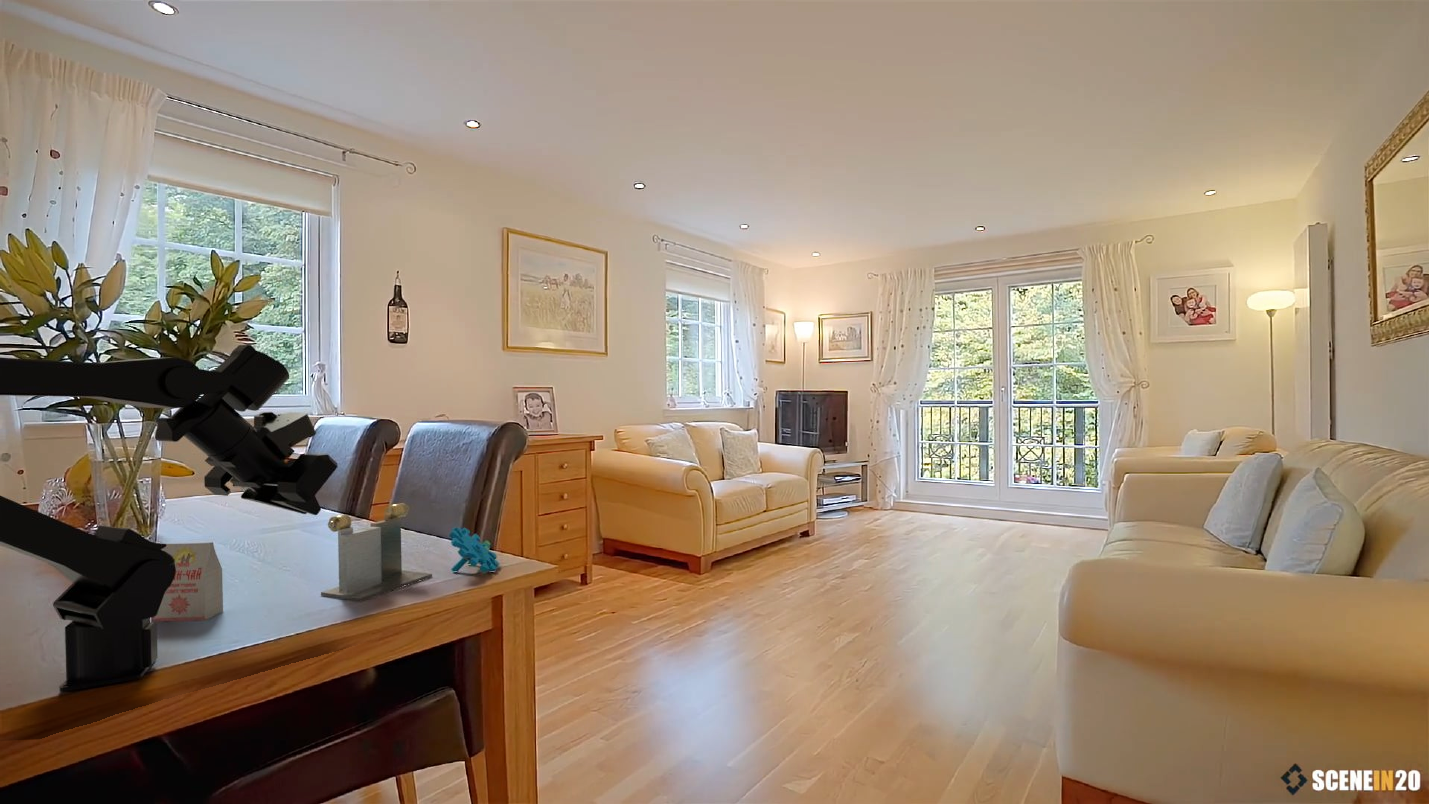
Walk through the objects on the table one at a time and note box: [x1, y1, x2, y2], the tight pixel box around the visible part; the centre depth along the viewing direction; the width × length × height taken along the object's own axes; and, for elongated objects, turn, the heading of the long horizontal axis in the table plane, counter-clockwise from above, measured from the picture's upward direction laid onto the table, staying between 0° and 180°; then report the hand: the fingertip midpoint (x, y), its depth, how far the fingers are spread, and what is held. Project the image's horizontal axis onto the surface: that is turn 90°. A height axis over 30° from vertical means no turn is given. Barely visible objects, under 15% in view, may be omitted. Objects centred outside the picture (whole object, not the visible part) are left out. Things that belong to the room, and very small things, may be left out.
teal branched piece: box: [448, 526, 500, 574], centre depth 112 cm, size 11×6×10 cm
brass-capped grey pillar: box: [327, 514, 382, 594], centre depth 100 cm, size 7×4×11 cm, turn 158°
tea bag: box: [150, 541, 224, 623], centre depth 91 cm, size 4×7×10 cm, turn 94°
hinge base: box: [320, 502, 433, 602], centre depth 104 cm, size 14×8×12 cm, turn 158°
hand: (312, 511), depth 93 cm, fingers closed
